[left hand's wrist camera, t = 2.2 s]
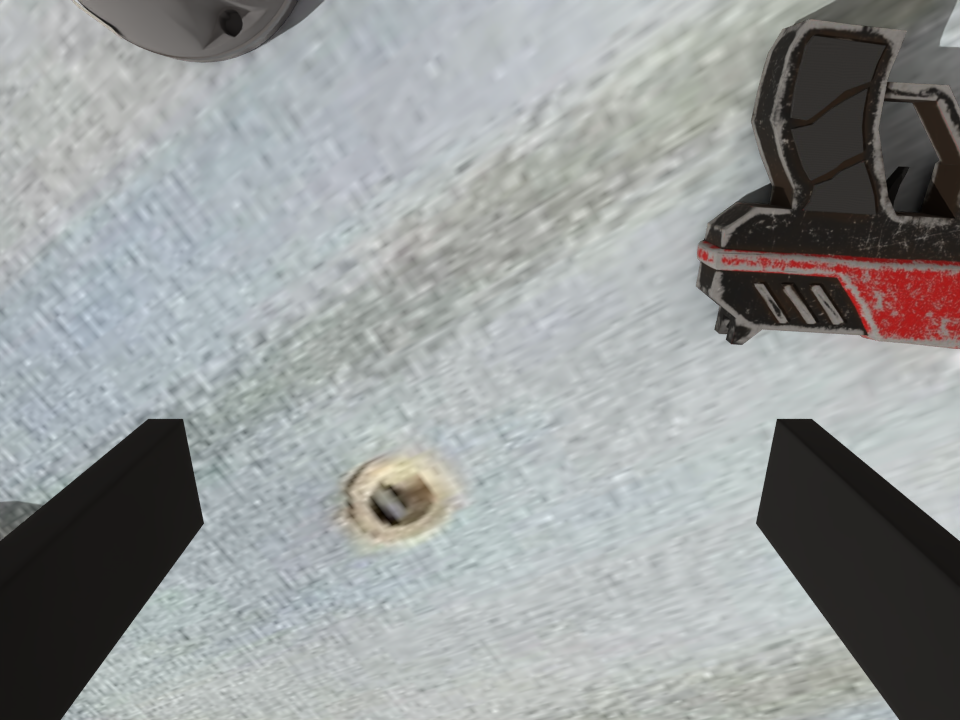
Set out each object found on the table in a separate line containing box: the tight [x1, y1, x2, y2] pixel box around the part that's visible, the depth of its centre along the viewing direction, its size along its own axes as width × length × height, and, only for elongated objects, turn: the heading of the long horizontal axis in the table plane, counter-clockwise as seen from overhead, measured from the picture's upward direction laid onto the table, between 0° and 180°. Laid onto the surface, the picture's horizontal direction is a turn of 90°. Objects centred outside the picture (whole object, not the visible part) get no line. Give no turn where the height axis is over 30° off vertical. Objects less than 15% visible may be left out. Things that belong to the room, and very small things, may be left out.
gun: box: [696, 19, 960, 349], centre depth 37 cm, size 4×31×19 cm
